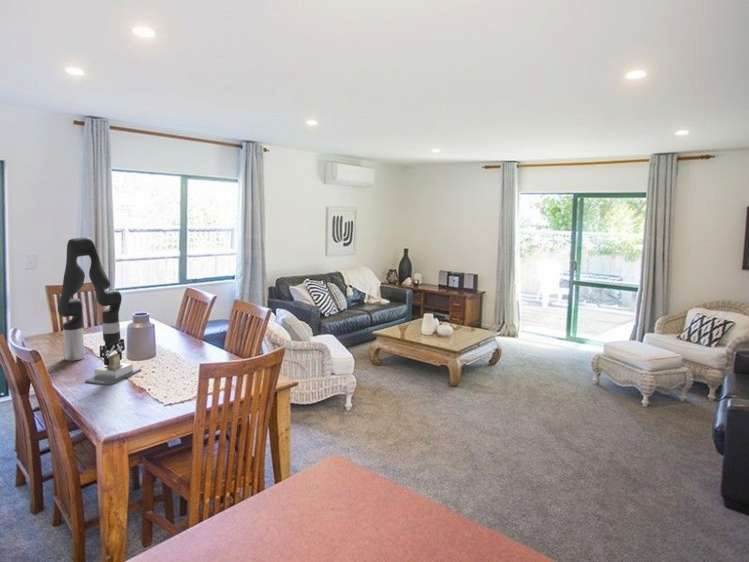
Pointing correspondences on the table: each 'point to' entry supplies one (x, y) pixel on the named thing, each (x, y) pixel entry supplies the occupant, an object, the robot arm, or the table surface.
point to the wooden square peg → (114, 361)
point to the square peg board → (112, 374)
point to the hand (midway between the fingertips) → (113, 362)
